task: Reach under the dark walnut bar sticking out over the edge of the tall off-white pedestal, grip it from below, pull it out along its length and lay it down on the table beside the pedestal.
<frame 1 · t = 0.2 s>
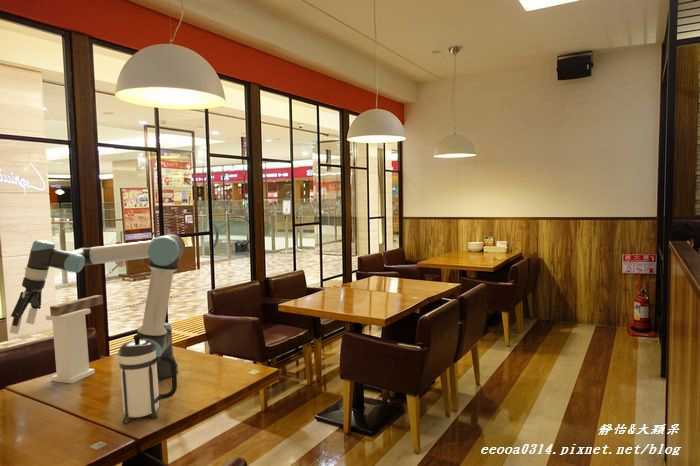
hand: (22, 328, 187), 28 cm above the table, tool tilted 20°, fingers open, 13 cm apart
walnut bar: (78, 309, 211), point 30 cm above the table, touching white pedestal
coffee press: (146, 414, 169), on the table
white pedestal: (73, 377, 208), on the table
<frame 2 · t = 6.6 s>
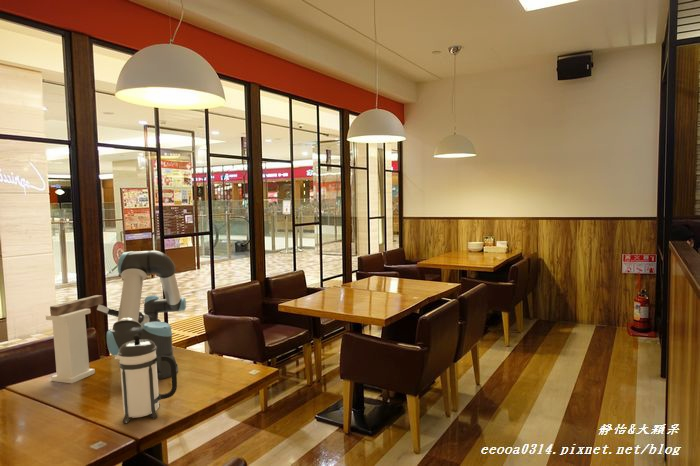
hand: (108, 307, 227), 27 cm above the table, tool pointing upward, fingers open, 13 cm apart
nothing on the table moved.
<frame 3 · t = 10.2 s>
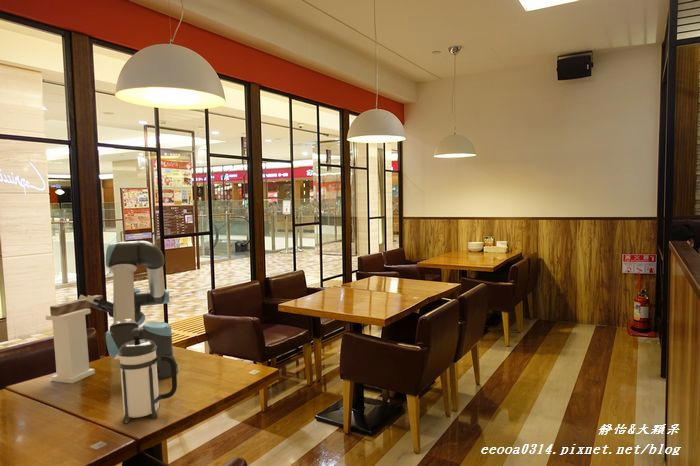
hand: (83, 297, 214), 35 cm above the table, tool pointing upward, fingers closed on walnut bar, 4 cm apart
walnut bar: (78, 309, 211), point 30 cm above the table, touching gripper, white pedestal
everything else where it was.
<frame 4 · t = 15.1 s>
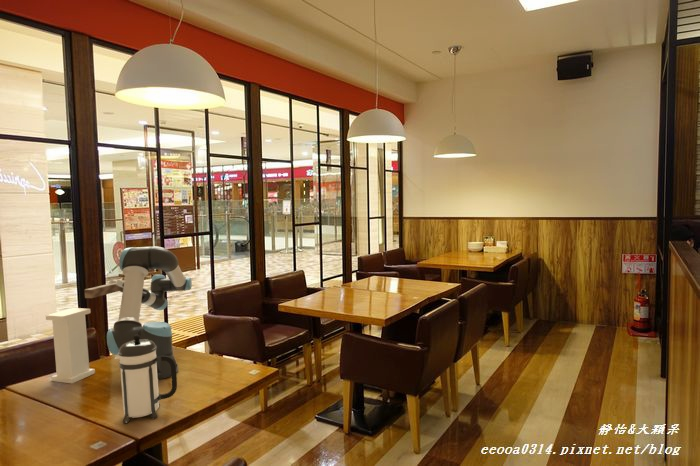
hand: (113, 282, 230), 39 cm above the table, tool pointing upward, fingers closed on walnut bar, 4 cm apart
walnut bar: (108, 292, 227), point 34 cm above the table, touching gripper
everything else where it was.
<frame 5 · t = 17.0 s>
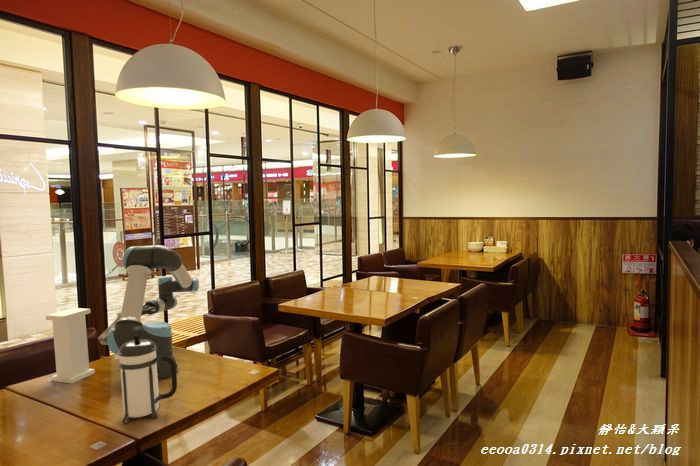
hand: (121, 315, 232), 21 cm above the table, tool horizontal, fingers closed on walnut bar, 4 cm apart
walnut bar: (120, 327, 232), point 16 cm above the table, tilted 28°, touching gripper
everything else where it was.
when the fingers open (10 cm above the table, at t = 19.9 s): walnut bar drops 5 cm, on the table.
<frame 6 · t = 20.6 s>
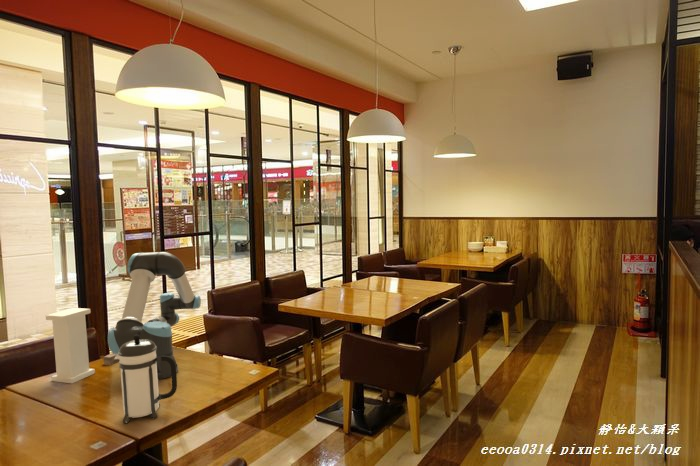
hand: (126, 336, 236), 10 cm above the table, tool horizontal, fingers open, 13 cm apart
walnut bar: (125, 356, 235), on the table
everything else where it was.
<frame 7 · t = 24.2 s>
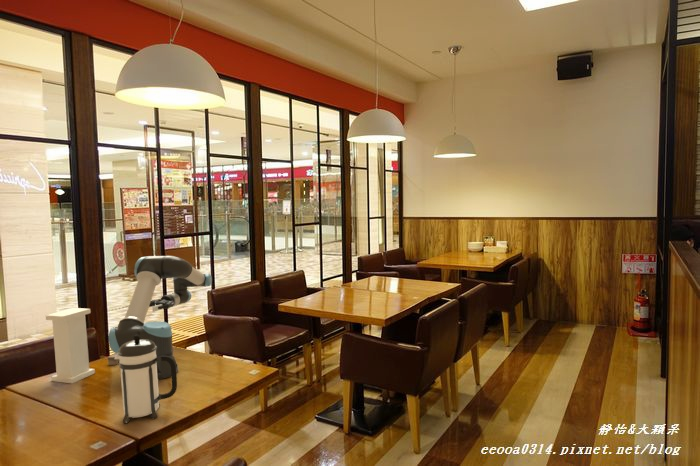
hand: (142, 308, 246), 21 cm above the table, tool horizontal, fingers open, 13 cm apart
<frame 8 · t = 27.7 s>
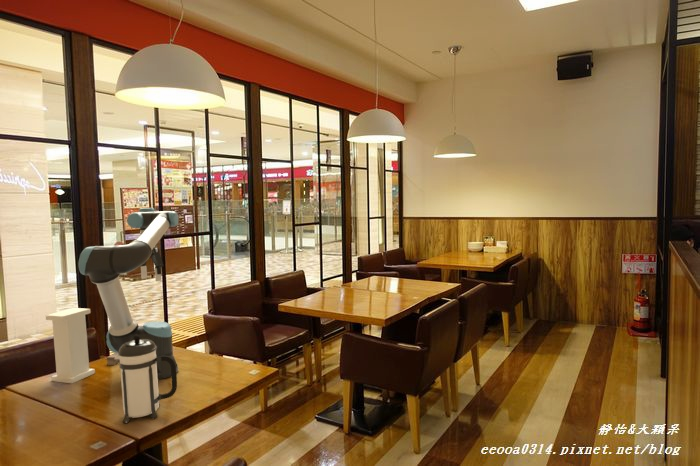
hand: (151, 279, 234), 39 cm above the table, tool pointing down, fingers open, 13 cm apart
at the end: walnut bar touching table; walnut bar on the table; walnut bar moved 38.6 cm from its start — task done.
